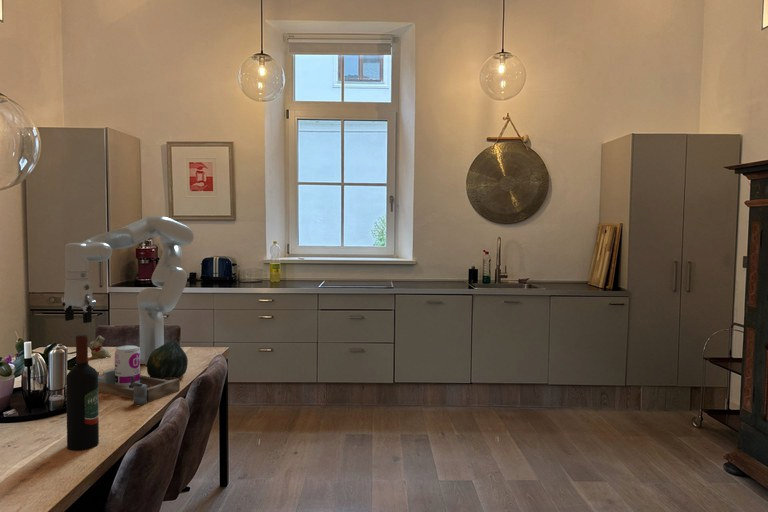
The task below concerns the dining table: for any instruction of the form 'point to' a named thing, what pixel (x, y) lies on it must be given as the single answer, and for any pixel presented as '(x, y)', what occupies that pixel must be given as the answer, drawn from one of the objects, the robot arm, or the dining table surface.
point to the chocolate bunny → (98, 348)
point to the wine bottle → (82, 401)
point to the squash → (167, 361)
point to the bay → (142, 389)
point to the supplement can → (127, 365)
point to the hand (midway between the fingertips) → (78, 321)
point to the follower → (107, 377)
